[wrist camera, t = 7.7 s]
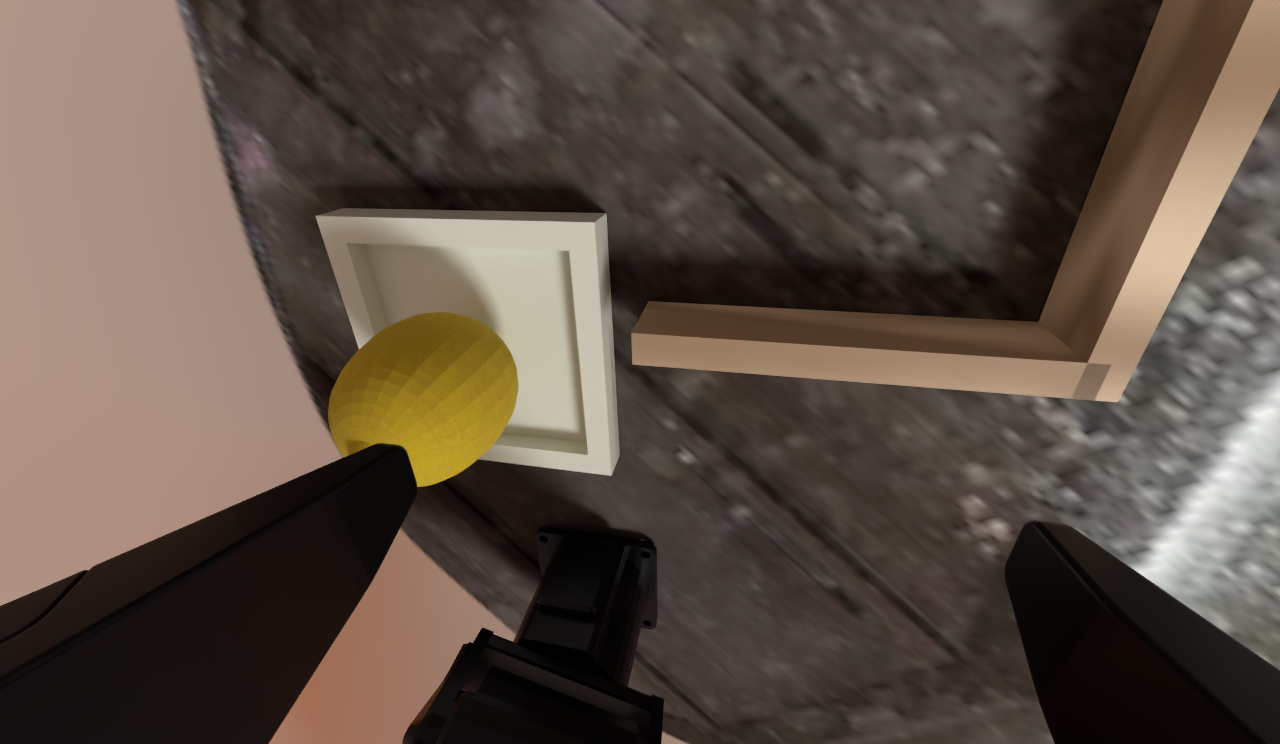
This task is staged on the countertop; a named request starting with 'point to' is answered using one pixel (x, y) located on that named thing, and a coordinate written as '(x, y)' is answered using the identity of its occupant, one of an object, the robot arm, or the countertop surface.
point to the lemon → (427, 393)
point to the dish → (500, 311)
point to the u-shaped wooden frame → (1093, 262)
